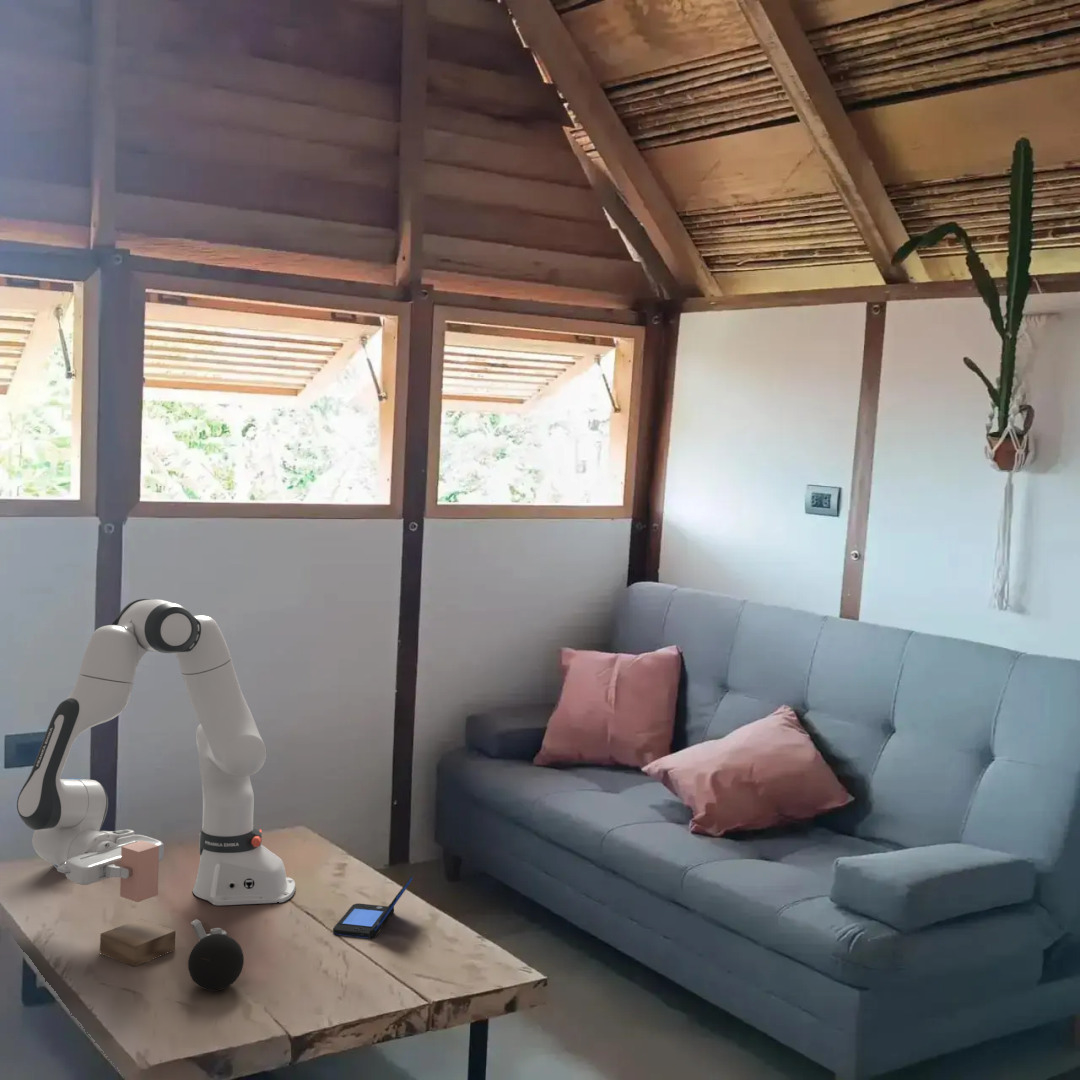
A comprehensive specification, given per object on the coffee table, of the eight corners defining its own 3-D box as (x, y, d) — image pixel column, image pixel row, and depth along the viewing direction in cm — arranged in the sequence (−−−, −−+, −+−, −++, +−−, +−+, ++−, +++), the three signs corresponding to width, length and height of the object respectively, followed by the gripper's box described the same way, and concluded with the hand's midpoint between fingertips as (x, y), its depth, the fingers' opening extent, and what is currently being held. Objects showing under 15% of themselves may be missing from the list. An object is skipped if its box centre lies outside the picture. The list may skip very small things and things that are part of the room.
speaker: (191, 1003, 227) (193, 949, 226) (183, 980, 236) (185, 928, 235) (247, 995, 231) (249, 943, 230) (237, 973, 240) (239, 923, 239)
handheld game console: (353, 909, 276) (355, 868, 275) (412, 915, 274) (414, 874, 273) (330, 935, 261) (332, 892, 260) (393, 943, 259) (395, 899, 258)
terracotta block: (140, 889, 250) (141, 840, 249) (157, 895, 247) (159, 845, 247) (120, 896, 246) (121, 846, 245) (137, 902, 243) (138, 852, 242)
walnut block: (140, 937, 254) (140, 918, 254) (174, 950, 249) (175, 930, 249) (99, 953, 246) (100, 933, 245) (134, 966, 241) (135, 946, 240)
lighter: (222, 951, 250) (223, 912, 249) (226, 954, 249) (227, 914, 248) (189, 959, 245) (190, 919, 244) (193, 962, 244) (194, 922, 243)
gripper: (52, 852, 244) (99, 867, 237) (135, 827, 261) (182, 841, 254) (51, 883, 244) (98, 900, 237) (135, 856, 262) (181, 871, 254)
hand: (142, 869), depth 246 cm, fingers closed on terracotta block, 5 cm apart
